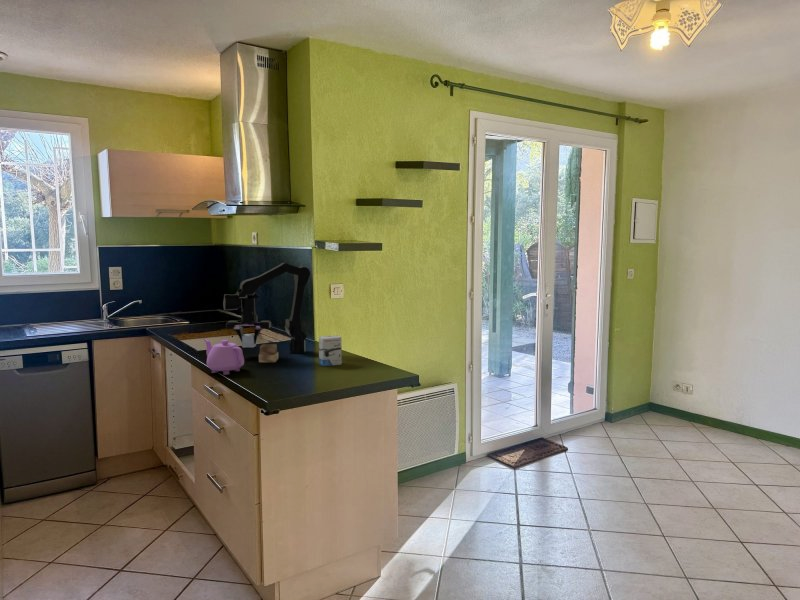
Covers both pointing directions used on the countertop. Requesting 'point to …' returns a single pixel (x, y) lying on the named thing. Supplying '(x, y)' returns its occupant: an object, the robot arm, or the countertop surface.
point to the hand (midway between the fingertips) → (249, 343)
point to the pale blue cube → (248, 340)
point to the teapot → (224, 357)
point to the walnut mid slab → (268, 349)
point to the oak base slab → (268, 358)
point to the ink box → (330, 350)
